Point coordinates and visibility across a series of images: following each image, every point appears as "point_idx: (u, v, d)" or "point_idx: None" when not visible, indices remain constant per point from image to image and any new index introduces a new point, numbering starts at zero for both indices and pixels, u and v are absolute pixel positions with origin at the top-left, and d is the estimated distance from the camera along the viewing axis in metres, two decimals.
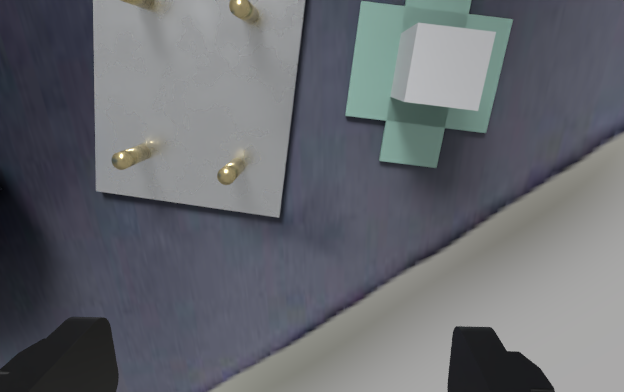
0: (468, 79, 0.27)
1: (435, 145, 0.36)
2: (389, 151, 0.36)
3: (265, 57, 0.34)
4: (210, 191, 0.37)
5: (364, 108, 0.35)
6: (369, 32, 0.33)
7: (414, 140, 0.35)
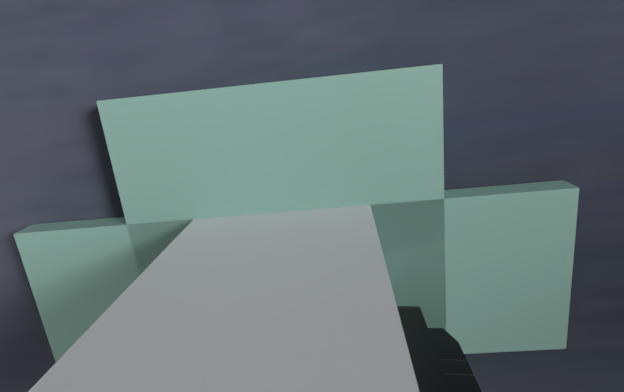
0: None
1: None
2: (50, 254, 0.12)
3: None
4: None
5: (137, 154, 0.11)
6: (356, 114, 0.11)
7: (104, 307, 0.13)
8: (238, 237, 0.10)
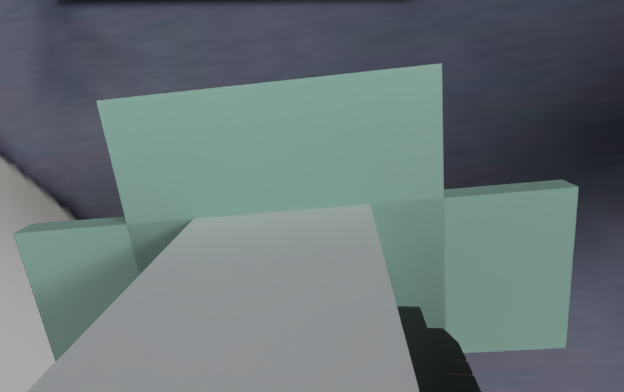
0: None
1: None
2: (51, 254, 0.12)
3: None
4: None
5: (137, 154, 0.11)
6: (356, 114, 0.11)
7: (104, 306, 0.13)
8: (238, 236, 0.10)
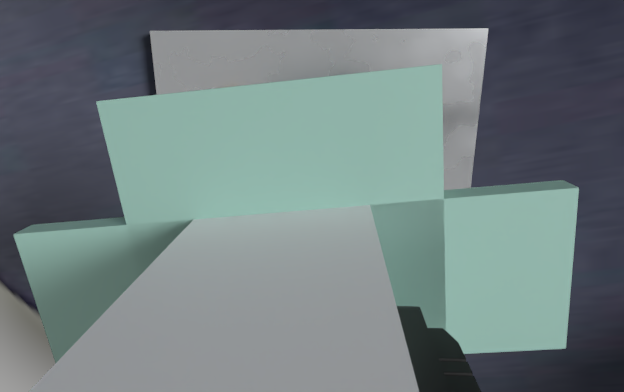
0: None
1: None
2: (50, 254, 0.12)
3: None
4: None
5: (137, 154, 0.11)
6: (356, 114, 0.11)
7: (104, 307, 0.13)
8: (238, 237, 0.10)
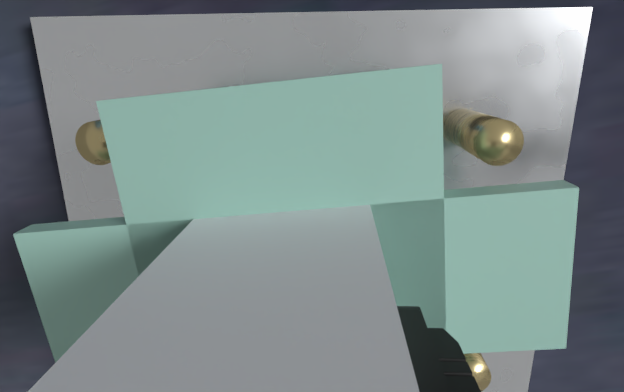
0: None
1: None
2: (50, 254, 0.12)
3: None
4: None
5: (137, 154, 0.11)
6: (356, 113, 0.11)
7: (104, 307, 0.13)
8: (238, 237, 0.10)
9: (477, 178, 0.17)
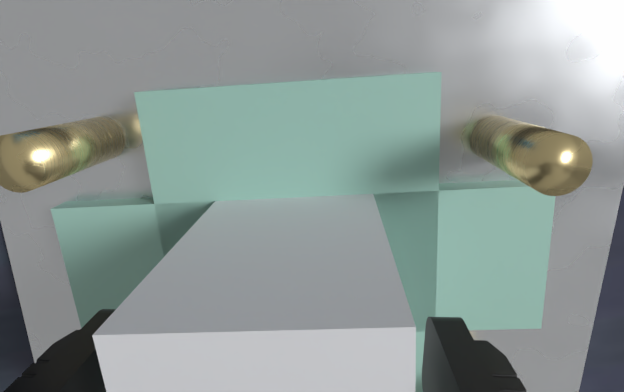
0: None
1: None
2: (83, 228, 0.14)
3: None
4: (59, 305, 0.16)
5: (167, 141, 0.13)
6: (364, 113, 0.12)
7: (129, 278, 0.14)
8: (258, 216, 0.11)
9: None
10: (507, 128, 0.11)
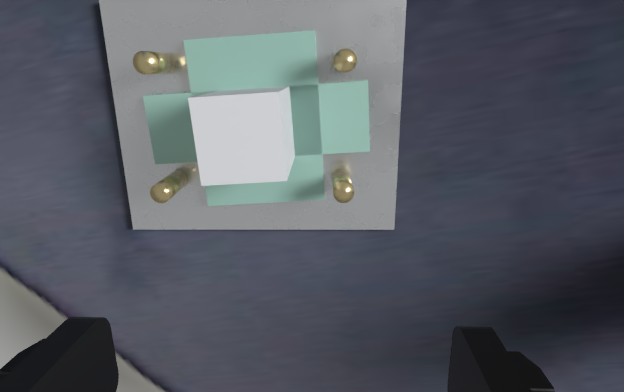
0: (231, 165, 0.24)
1: (179, 156, 0.31)
2: (157, 105, 0.30)
3: None
4: (141, 150, 0.31)
5: (197, 62, 0.29)
6: (283, 48, 0.28)
7: (178, 130, 0.30)
8: (237, 90, 0.27)
9: None
10: None
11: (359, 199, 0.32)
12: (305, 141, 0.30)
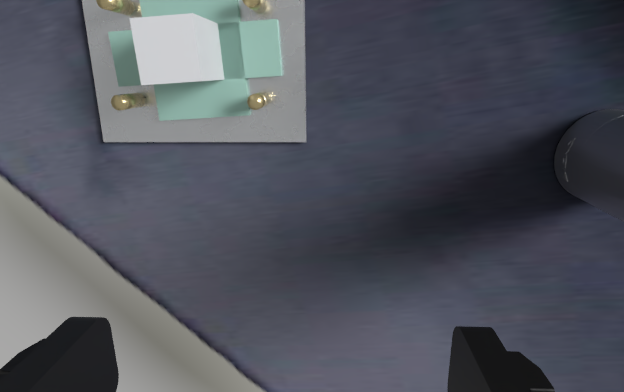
0: (162, 69, 0.33)
1: (136, 80, 0.40)
2: (119, 39, 0.39)
3: None
4: (108, 77, 0.41)
5: (148, 5, 0.38)
6: None
7: (135, 59, 0.39)
8: None
9: None
10: None
11: (277, 116, 0.41)
12: (231, 67, 0.39)
